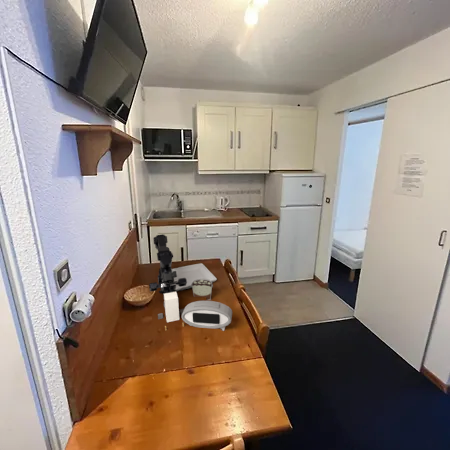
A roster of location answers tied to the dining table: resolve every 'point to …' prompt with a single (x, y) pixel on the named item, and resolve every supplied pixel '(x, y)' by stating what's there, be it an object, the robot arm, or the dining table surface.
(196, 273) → the square plate
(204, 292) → the food container
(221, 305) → the alarm clock
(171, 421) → the dining table surface
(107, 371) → the dining table surface
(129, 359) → the dining table surface
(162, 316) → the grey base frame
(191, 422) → the dining table surface
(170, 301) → the block
